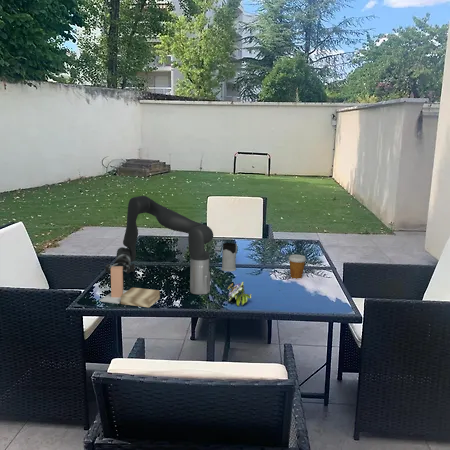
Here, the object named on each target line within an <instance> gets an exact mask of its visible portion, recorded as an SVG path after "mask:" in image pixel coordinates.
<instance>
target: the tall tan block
mask: <svg viewBox="0 0 450 450" xmlns="http://www.w3.org/2000/svg"><path fill="white" fill-rule="evenodd" d="M110 287H111V288H110V291H111V292H110V293H111V297H121V295H122V294H123V290H124V272H123V266H112V267H111V274H110Z"/></svg>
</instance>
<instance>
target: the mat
mask: <svg viewBox="0 0 450 450" xmlns="http://www.w3.org/2000/svg"><path fill="white" fill-rule="evenodd" d="M127 291H128V290H125V289H123V294H124V293H125V292H127ZM98 301H99V302H100V301H101V302H102V303H109V304H117V305H118V304H121V297H111V292H110V293H108V294H107V295H105V296H103V297H102V298H100V299H99V300H98Z"/></svg>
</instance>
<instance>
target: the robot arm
mask: <svg viewBox="0 0 450 450" xmlns="http://www.w3.org/2000/svg"><path fill="white" fill-rule="evenodd" d="M126 214H127V215H126V225H125V226H126V228H125V232H124V237H123V239H122V244H123V246H124V247H123V246H121V247H119V248H118V249H117V251H116V259H115V261H114V264H112V265H111V264H110V263H106V265H105V272H106V273H107V274H109V275H111V267H112V266H123V273H126V275H129V274H131V272H132V273H133V272H135V269H136V266H135V263H133V262H134V261H135V260H136V256H137V255H136V253H137V251H136V246H137V245H136V244H137V240H138V237H139V228H138V227H137V219H138V216H139V215H140V214H149V215H150V216H151V215H152V216H154V217H155V219H156V221H157V222H158V224H160V225H161V226H162V227H164V228H166V229H168V230H171V231H173V232H174V231H175V232H179V233H185V234H188V237H187V239H188V240H187V241H188V243H187V244H188V252H189V255H190V257H189V258H190V259H189V260H190V262H189V263H190V266H189V268H190V272H189V273H190V274H189V277H190V279H189V281H190V282H189V283H190V284H189V286H190V287H189V292H190V293H191V294H193V295H208V293H210V291H211V272H210V252H208V251H207V250H205V245H206V244H208V243H210V242H212V241H213V238H214V232H213V230H212V228H211V227H210V226H208V225H207V224H205V223H201V222H198V221H195V220H192V219H190V218H189V217H186V216H184V215H182V214H181V213H178V212H176V211H174V210H172V209H170V208H168V207H166V206H164V205H162V204H160V203H158V202H156V201H154V200H153V199H151V198H150V197H149V196H146V195H138V196H133V197H131V198H130V199H129V201H128V203H127V213H126ZM131 263H132V264H131Z"/></svg>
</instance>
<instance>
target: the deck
mask: <svg viewBox="0 0 450 450" xmlns="http://www.w3.org/2000/svg"><path fill="white" fill-rule="evenodd" d="M126 291H127V292H125V293H124V294H122V295H121V303H120V304H121V305H124V306H125V305H126V306H135V307H141V308H142V307H144V308H151V306H153V305H154V304H156V303H157V302H158V301H159V300H160V299H161V297H160V295H161V294H160V293H161V290H158V289H152V288H151V289H149V288H141V287H130V289H128V290H126Z"/></svg>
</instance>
